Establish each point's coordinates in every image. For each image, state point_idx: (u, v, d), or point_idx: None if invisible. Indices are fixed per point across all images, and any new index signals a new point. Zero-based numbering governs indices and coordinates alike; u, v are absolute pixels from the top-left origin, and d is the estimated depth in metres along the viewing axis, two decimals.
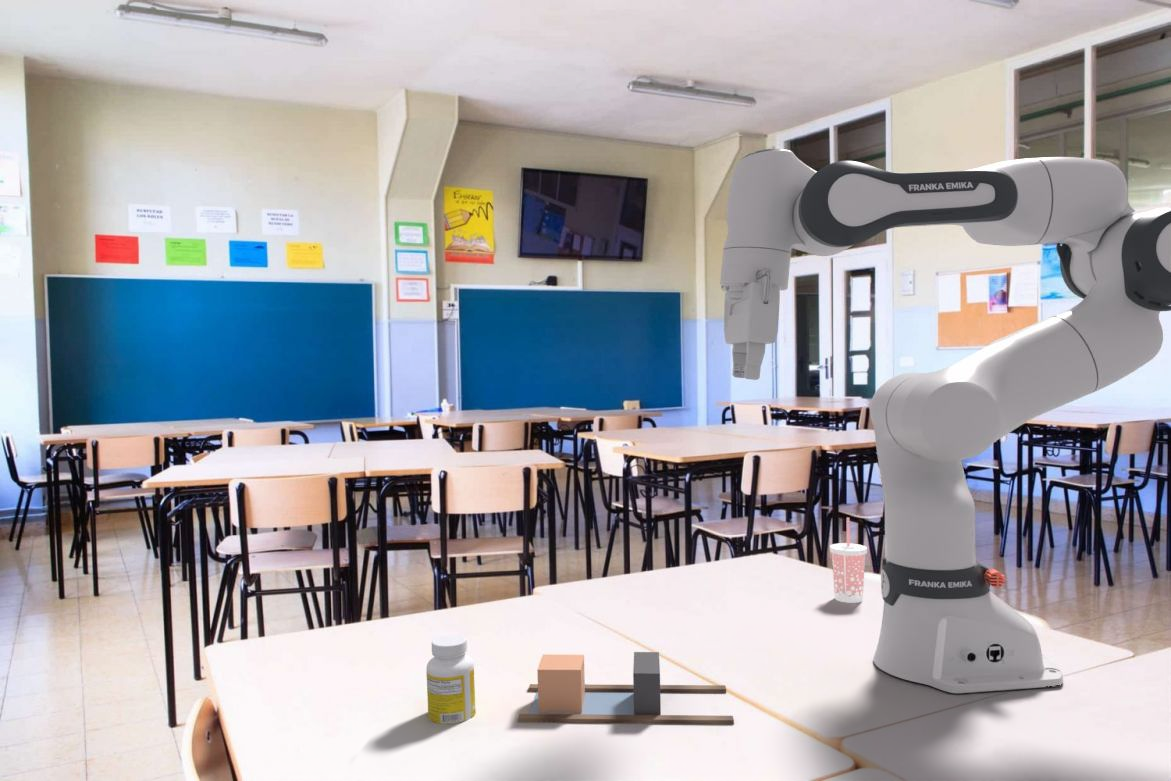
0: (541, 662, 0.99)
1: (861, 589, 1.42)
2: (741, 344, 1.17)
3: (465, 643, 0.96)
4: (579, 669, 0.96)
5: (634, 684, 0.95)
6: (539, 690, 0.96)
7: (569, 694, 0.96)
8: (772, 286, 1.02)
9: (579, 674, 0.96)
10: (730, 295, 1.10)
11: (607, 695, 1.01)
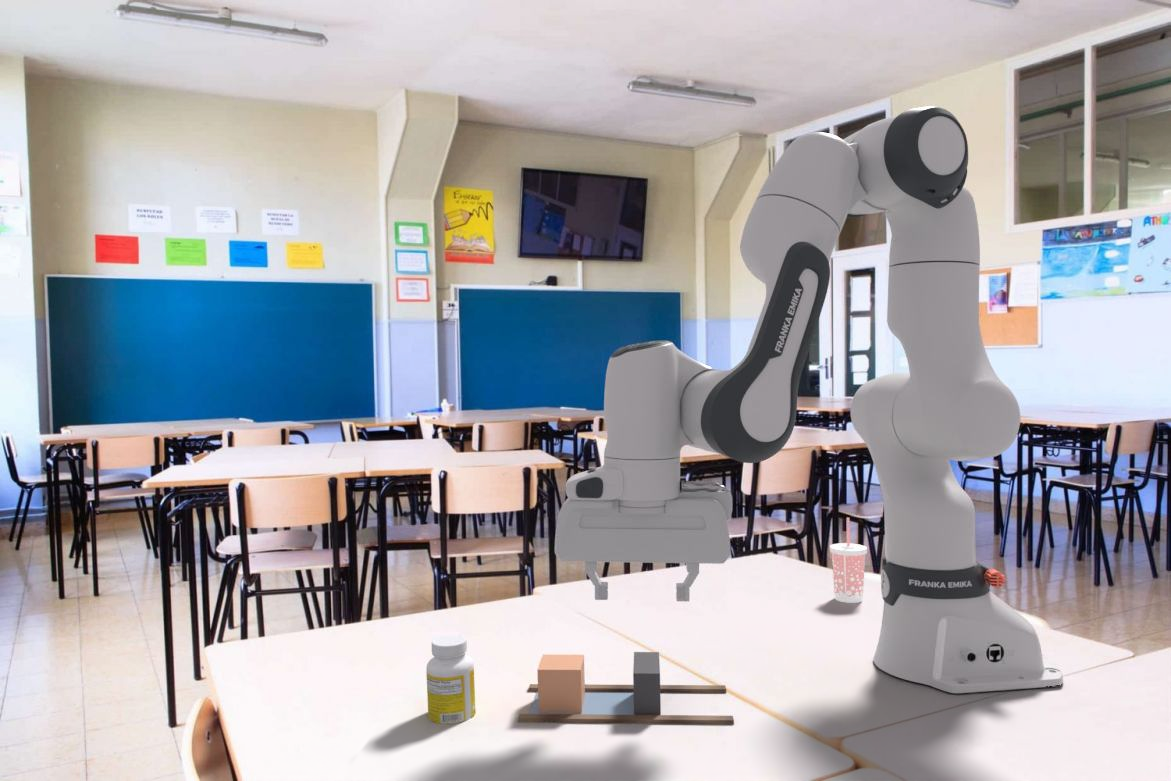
0: (541, 662, 0.99)
1: (861, 589, 1.42)
2: None
3: (465, 643, 0.96)
4: (579, 669, 0.96)
5: (634, 684, 0.95)
6: (539, 690, 0.96)
7: (569, 694, 0.96)
8: None
9: (579, 674, 0.96)
10: (648, 512, 0.94)
11: (607, 695, 1.01)
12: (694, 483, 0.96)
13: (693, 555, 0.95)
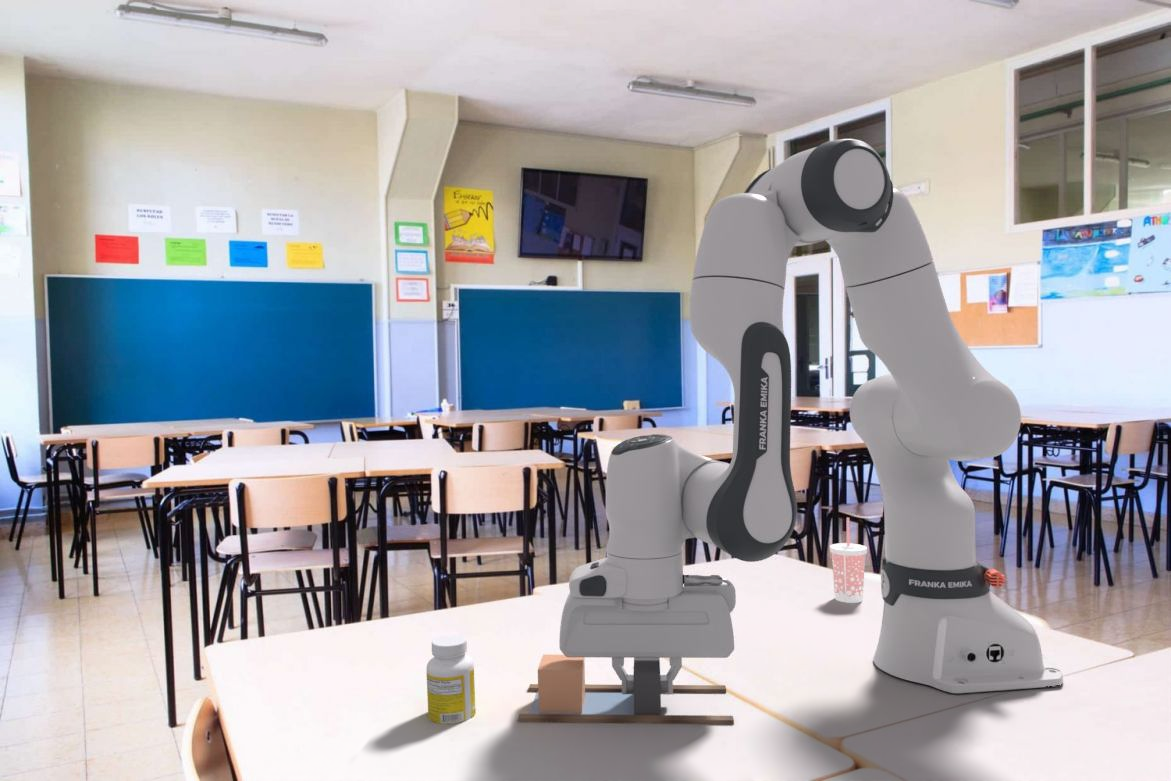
0: (541, 662, 0.99)
1: (861, 589, 1.42)
2: None
3: (465, 643, 0.96)
4: (579, 669, 0.96)
5: (634, 684, 0.95)
6: (539, 690, 0.96)
7: (570, 694, 0.96)
8: None
9: (579, 674, 0.96)
10: (652, 609, 0.95)
11: (607, 695, 1.01)
12: (697, 577, 0.97)
13: (697, 650, 0.96)
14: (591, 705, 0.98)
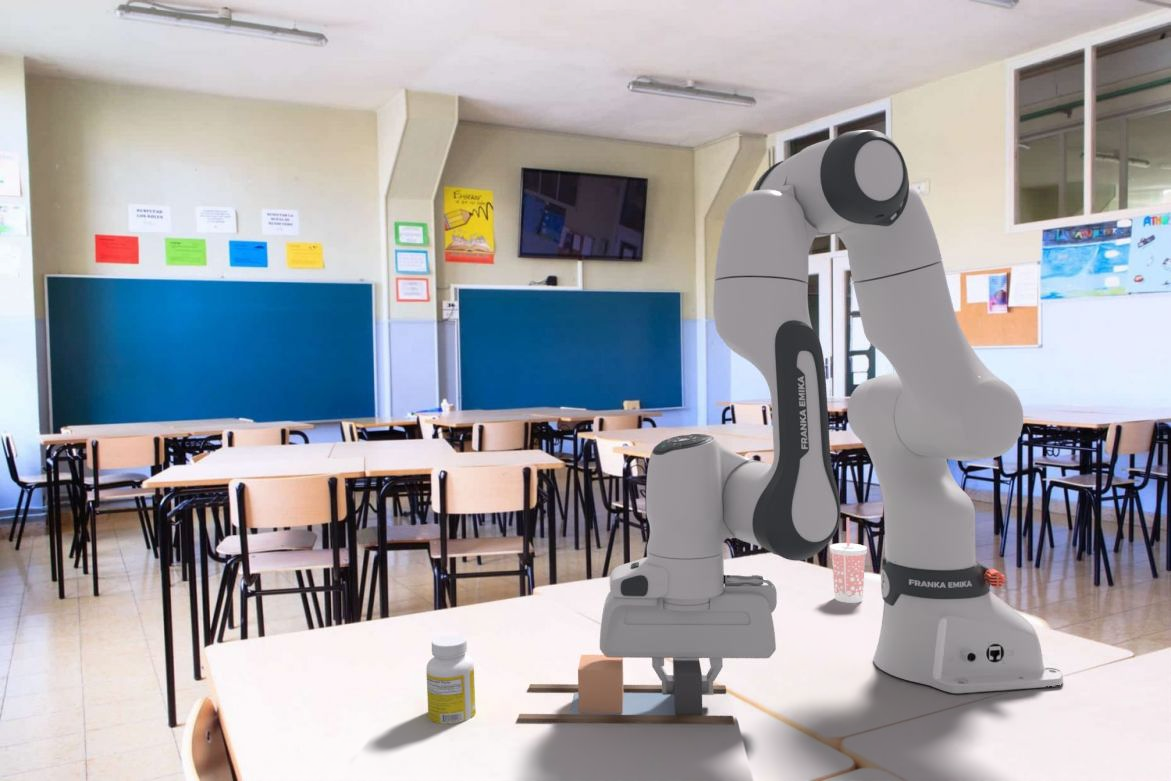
0: (581, 662, 0.98)
1: (861, 589, 1.42)
2: None
3: (465, 643, 0.96)
4: (620, 669, 0.96)
5: (676, 684, 0.94)
6: (579, 690, 0.96)
7: (610, 694, 0.96)
8: None
9: (620, 674, 0.96)
10: (694, 609, 0.94)
11: (646, 695, 1.01)
12: (738, 577, 0.96)
13: (738, 650, 0.95)
14: (631, 705, 0.98)
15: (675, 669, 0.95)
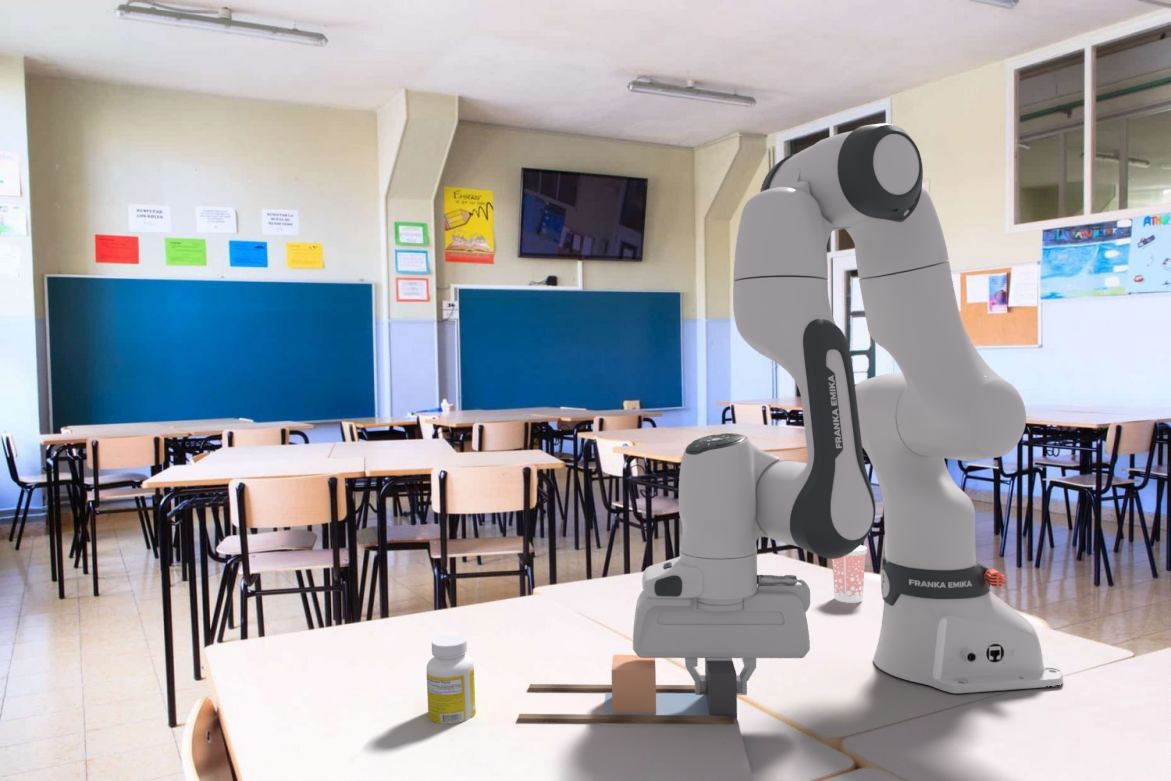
0: (613, 662, 0.98)
1: (861, 589, 1.42)
2: None
3: (465, 643, 0.96)
4: (653, 669, 0.96)
5: (710, 684, 0.94)
6: (613, 691, 0.96)
7: (644, 695, 0.96)
8: None
9: (654, 674, 0.95)
10: (728, 609, 0.94)
11: (678, 696, 1.00)
12: (771, 577, 0.96)
13: (773, 650, 0.95)
14: (664, 706, 0.98)
15: (709, 669, 0.95)
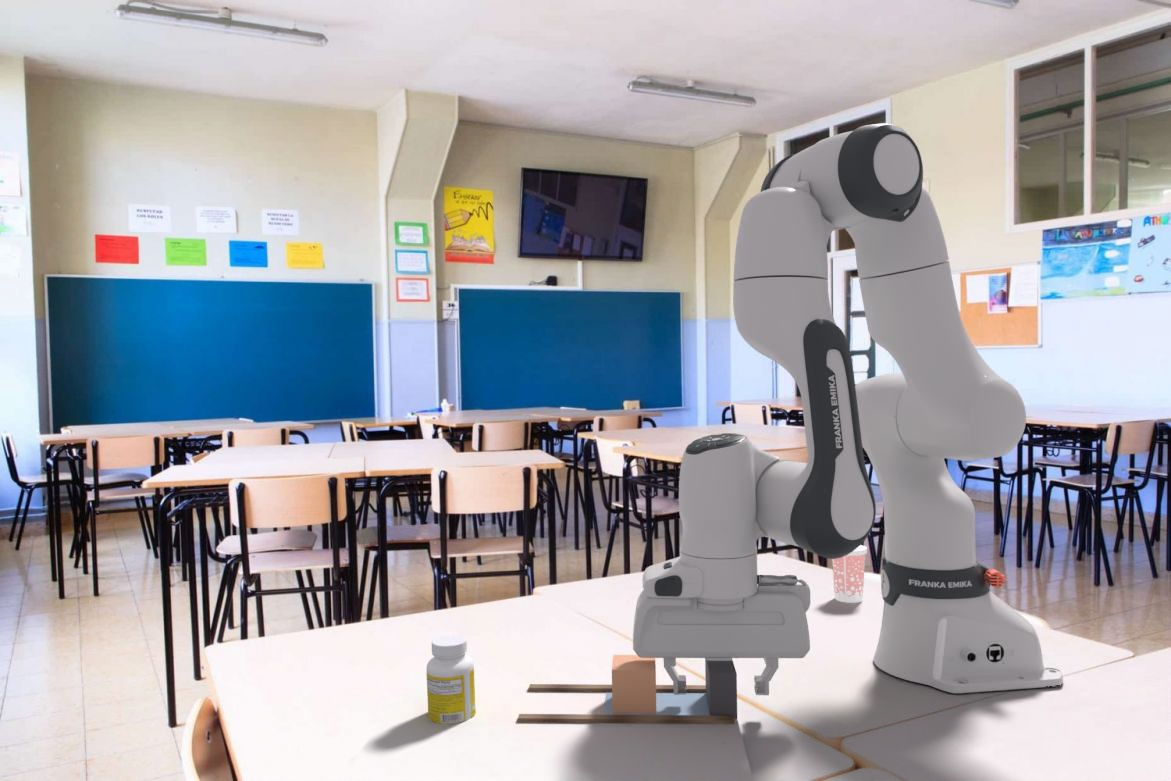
0: (614, 662, 0.98)
1: (861, 589, 1.42)
2: None
3: (465, 643, 0.96)
4: (654, 669, 0.96)
5: (710, 684, 0.94)
6: (613, 691, 0.96)
7: (644, 695, 0.96)
8: None
9: (654, 674, 0.95)
10: (728, 609, 0.94)
11: (678, 696, 1.00)
12: (771, 577, 0.96)
13: (773, 650, 0.95)
14: (664, 706, 0.98)
15: (709, 669, 0.95)
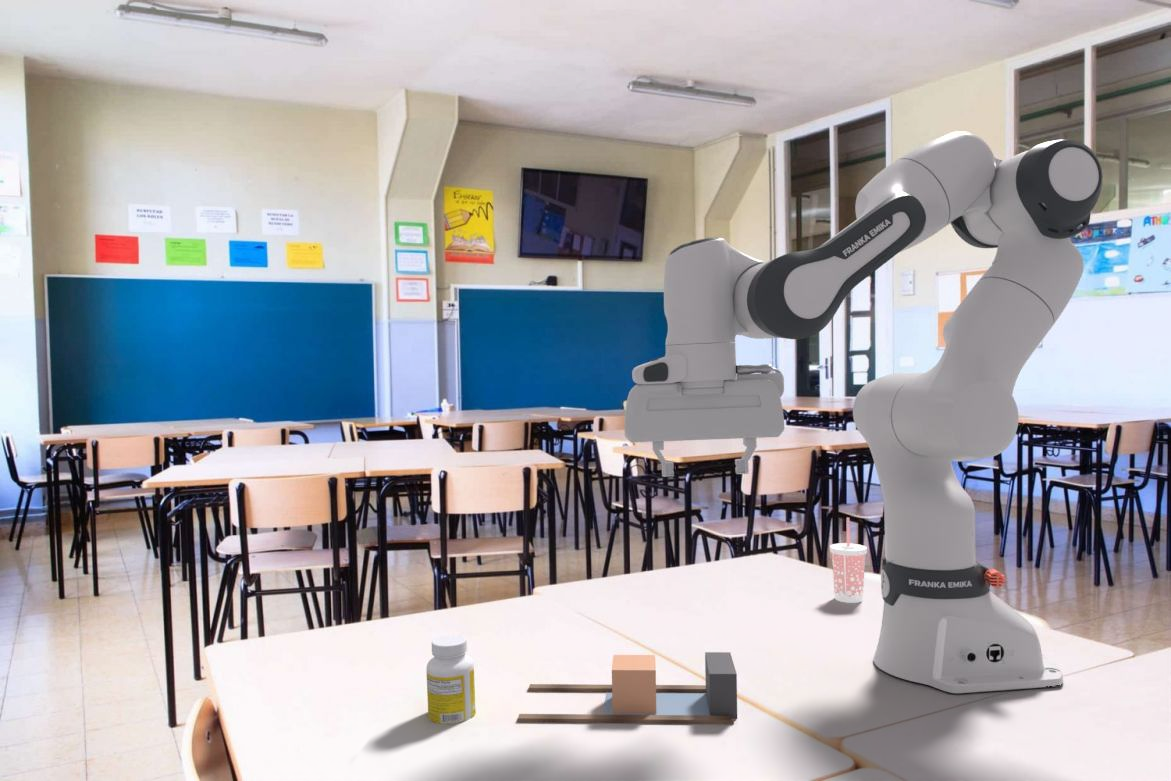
0: (614, 662, 0.98)
1: (861, 589, 1.42)
2: None
3: (465, 643, 0.96)
4: (654, 669, 0.96)
5: (710, 684, 0.94)
6: (613, 691, 0.96)
7: (644, 695, 0.96)
8: None
9: (654, 674, 0.95)
10: (710, 391, 1.04)
11: (678, 696, 1.00)
12: (749, 366, 1.06)
13: (751, 430, 1.05)
14: (664, 706, 0.98)
15: (709, 669, 0.95)
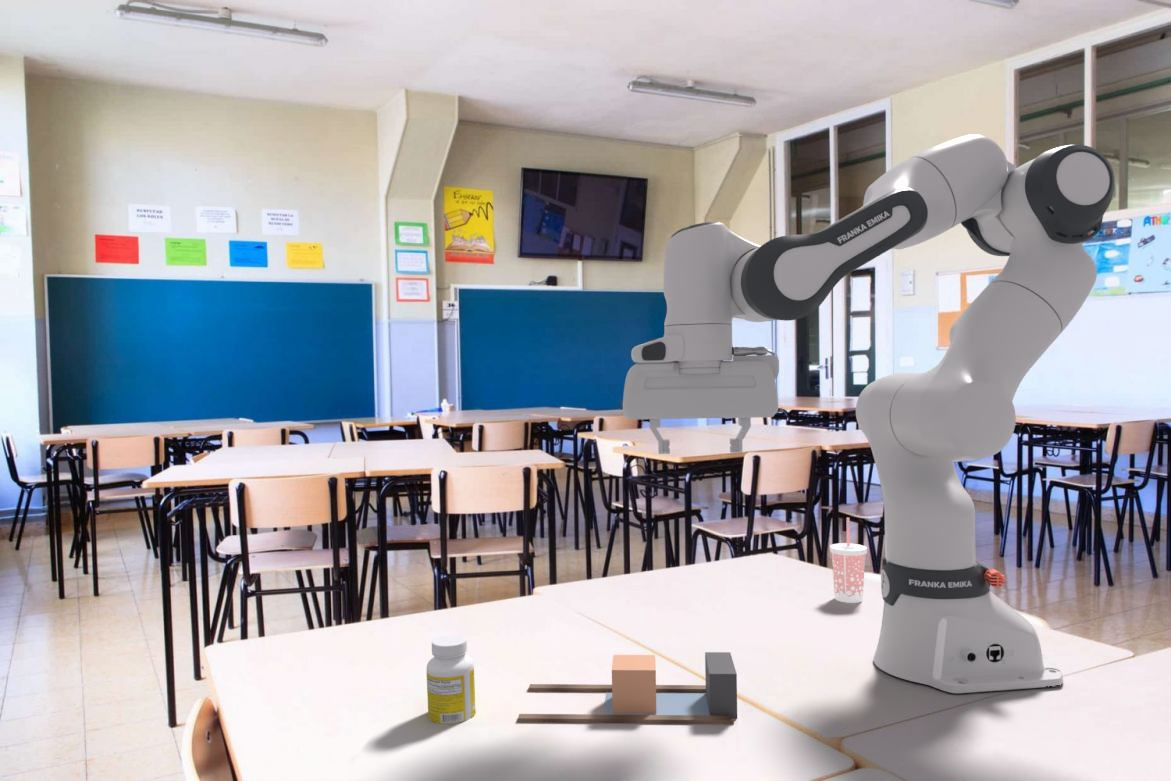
0: (614, 662, 0.98)
1: (861, 589, 1.42)
2: None
3: (465, 643, 0.96)
4: (654, 669, 0.96)
5: (710, 684, 0.94)
6: (613, 691, 0.96)
7: (644, 695, 0.96)
8: None
9: (654, 674, 0.95)
10: (706, 371, 1.07)
11: (678, 696, 1.00)
12: (745, 348, 1.09)
13: (745, 410, 1.08)
14: (664, 706, 0.98)
15: (709, 669, 0.95)
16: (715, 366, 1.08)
